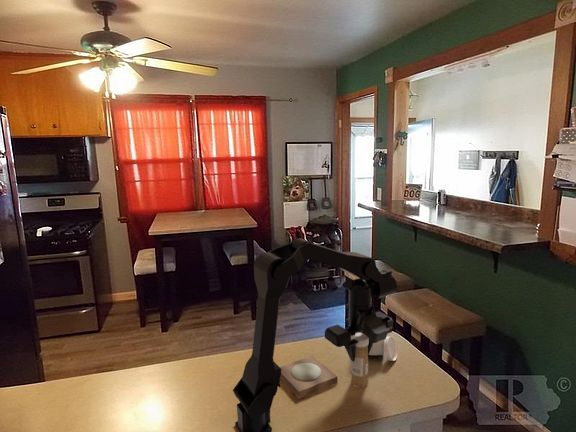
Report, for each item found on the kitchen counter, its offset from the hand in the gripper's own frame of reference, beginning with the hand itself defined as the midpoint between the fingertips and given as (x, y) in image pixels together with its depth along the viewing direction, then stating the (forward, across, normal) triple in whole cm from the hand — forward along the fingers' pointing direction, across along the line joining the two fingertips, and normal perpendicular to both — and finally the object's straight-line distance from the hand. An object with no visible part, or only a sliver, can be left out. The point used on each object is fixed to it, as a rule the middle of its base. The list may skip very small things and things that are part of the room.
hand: (359, 358), depth 98 cm
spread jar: (+8, +14, +8) cm, 18 cm away
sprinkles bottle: (+7, 0, 0) cm, 7 cm away
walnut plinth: (+7, -11, +9) cm, 16 cm away
